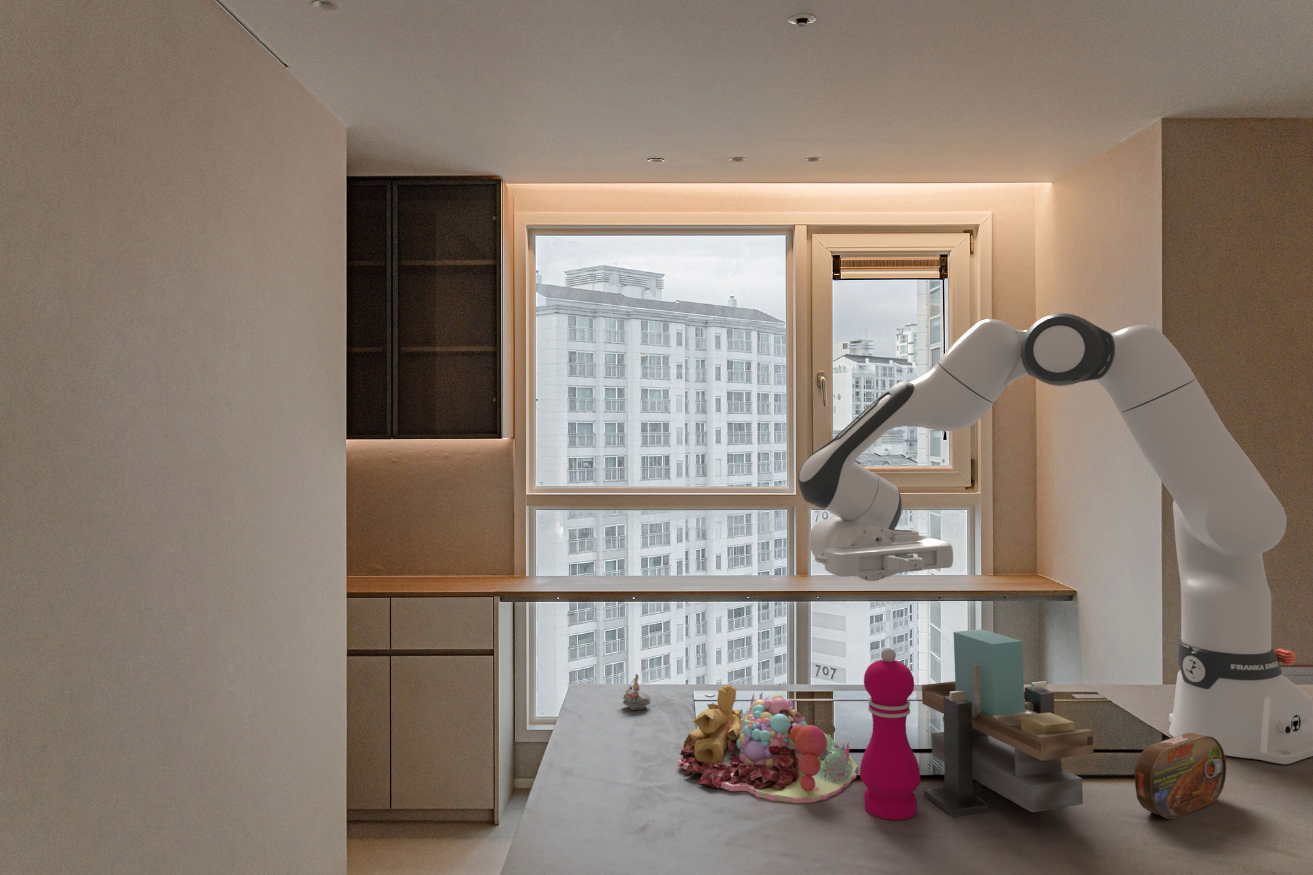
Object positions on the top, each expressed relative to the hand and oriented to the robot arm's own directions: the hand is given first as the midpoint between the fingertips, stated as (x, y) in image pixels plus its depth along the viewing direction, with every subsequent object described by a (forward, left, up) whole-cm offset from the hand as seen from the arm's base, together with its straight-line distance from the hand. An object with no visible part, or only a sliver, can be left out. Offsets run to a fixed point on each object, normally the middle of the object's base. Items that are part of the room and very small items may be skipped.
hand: (915, 565), depth 128 cm
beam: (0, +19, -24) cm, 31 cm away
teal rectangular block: (0, +17, -16) cm, 24 cm away
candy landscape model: (+24, 0, -27) cm, 36 cm away
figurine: (+36, -28, -27) cm, 53 cm away
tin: (-19, +28, -27) cm, 43 cm away
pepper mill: (+15, +18, -27) cm, 35 cm away
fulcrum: (0, +19, -26) cm, 32 cm away
